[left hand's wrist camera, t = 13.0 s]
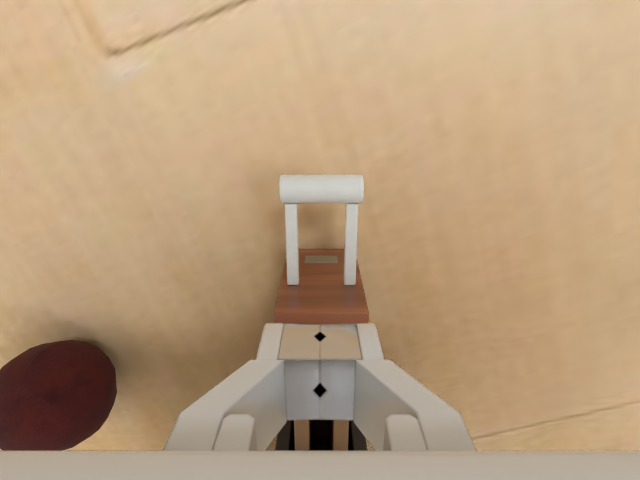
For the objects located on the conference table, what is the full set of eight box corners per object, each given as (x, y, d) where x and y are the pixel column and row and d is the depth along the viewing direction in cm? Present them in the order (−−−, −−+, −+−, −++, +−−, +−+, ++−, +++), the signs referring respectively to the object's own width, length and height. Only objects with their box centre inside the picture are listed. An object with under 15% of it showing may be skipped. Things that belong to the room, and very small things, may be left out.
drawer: (285, 159, 23) (267, 188, 15) (357, 159, 23) (375, 188, 15) (294, 440, 31) (285, 548, 23) (348, 440, 31) (356, 548, 23)
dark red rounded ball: (16, 364, 29) (-73, 442, 22) (70, 300, 27) (-11, 365, 20) (99, 416, 31) (39, 503, 24) (155, 359, 29) (106, 437, 22)
